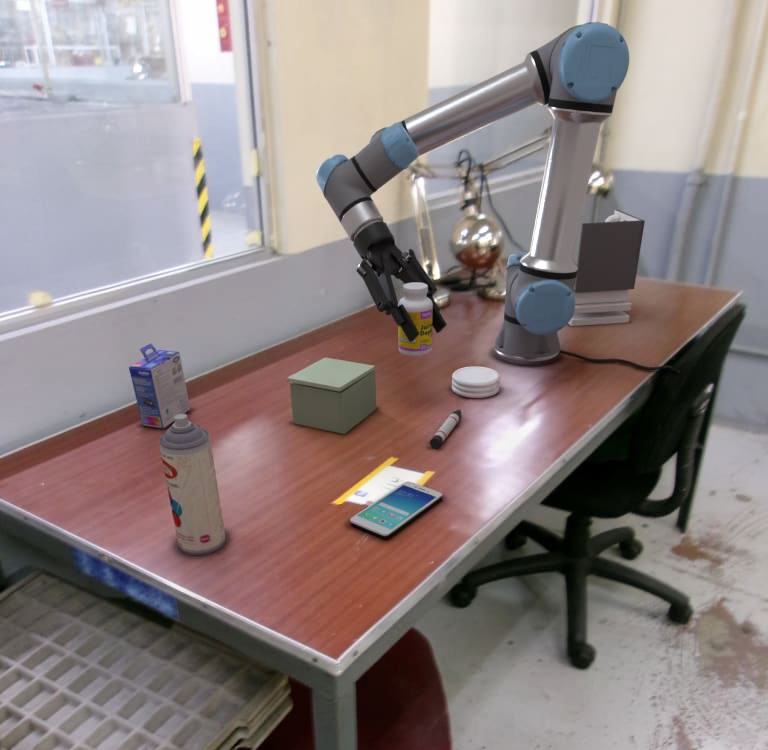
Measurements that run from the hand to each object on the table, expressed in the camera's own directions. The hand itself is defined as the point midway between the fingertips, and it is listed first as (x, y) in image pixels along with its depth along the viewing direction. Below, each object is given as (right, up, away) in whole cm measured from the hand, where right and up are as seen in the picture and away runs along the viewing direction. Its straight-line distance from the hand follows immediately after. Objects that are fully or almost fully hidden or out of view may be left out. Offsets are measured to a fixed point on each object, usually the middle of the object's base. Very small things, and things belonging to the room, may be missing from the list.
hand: (428, 333), depth 142 cm
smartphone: (-6, -34, -26) cm, 44 cm away
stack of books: (+46, +18, +58) cm, 76 cm away
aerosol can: (-35, -39, -33) cm, 62 cm away
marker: (+4, -19, -2) cm, 19 cm away
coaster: (+11, -9, +15) cm, 20 cm away
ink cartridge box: (-52, -16, +5) cm, 54 cm away
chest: (-18, -15, +5) cm, 24 cm away
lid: (-18, -8, 0) cm, 20 cm away
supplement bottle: (-2, -3, +5) cm, 6 cm away
